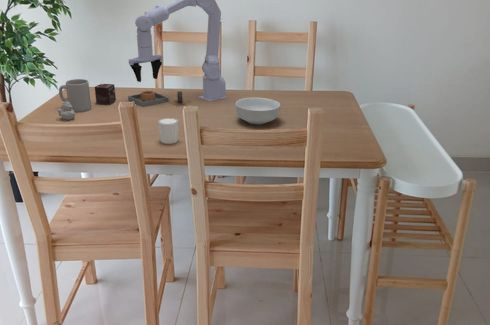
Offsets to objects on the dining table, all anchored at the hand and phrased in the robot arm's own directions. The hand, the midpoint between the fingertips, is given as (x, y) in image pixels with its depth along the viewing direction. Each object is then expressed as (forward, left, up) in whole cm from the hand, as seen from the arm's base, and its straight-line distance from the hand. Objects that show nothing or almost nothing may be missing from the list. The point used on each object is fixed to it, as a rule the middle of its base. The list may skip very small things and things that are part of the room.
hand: (147, 80), depth 195 cm
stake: (-9, +10, -9) cm, 16 cm away
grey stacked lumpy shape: (+35, 0, -10) cm, 36 cm away
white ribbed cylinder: (+18, +42, -10) cm, 47 cm away
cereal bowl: (-19, +46, -10) cm, 51 cm away
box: (+14, -10, -10) cm, 20 cm away
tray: (0, 0, -9) cm, 9 cm away
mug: (+27, -10, -10) cm, 30 cm away
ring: (0, -1, -9) cm, 9 cm away
